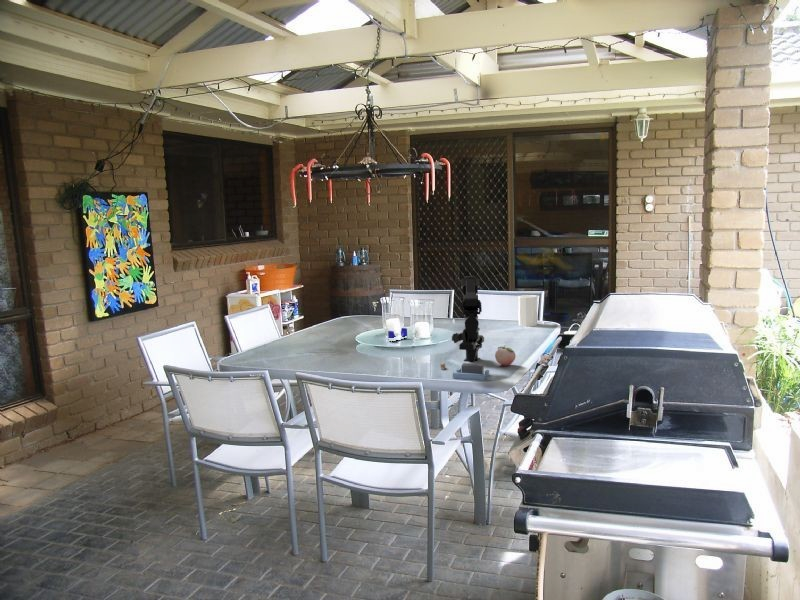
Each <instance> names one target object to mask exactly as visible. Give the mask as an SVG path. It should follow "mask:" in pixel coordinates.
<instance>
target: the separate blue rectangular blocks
mask: <svg viewBox="0 0 800 600" xmlns="http://www.w3.org/2000/svg"><path fill="white" fill-rule="evenodd" d="M489 375H490V369H486V370H484V374H471V373H462V367H459V368H457V369H456V371H455V372H452V379H459V380H460V379H461V380H481V381H484V379H486V377H489Z"/></svg>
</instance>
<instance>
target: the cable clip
mask: <svg viewBox="0 0 800 600" xmlns="http://www.w3.org/2000/svg"><path fill="white" fill-rule="evenodd" d="M400 333H401V336H402V337H405V336H407V337H408V328H406V327H402V328H401V330H400ZM387 334H388V335H387V337H388V338H394V337H396V336H397V335H395V331H394V330H389V331H388V330H387Z"/></svg>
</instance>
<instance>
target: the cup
mask: <svg viewBox="0 0 800 600" xmlns="http://www.w3.org/2000/svg"><path fill="white" fill-rule="evenodd" d="M517 298H518V300H517V301H518V326H520V327H524V328H525V327H526V328H528V327H536V326H538V296H537V295H536V294H535V295H534V294H524V295H523V294H522V295H518V297H517Z"/></svg>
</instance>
